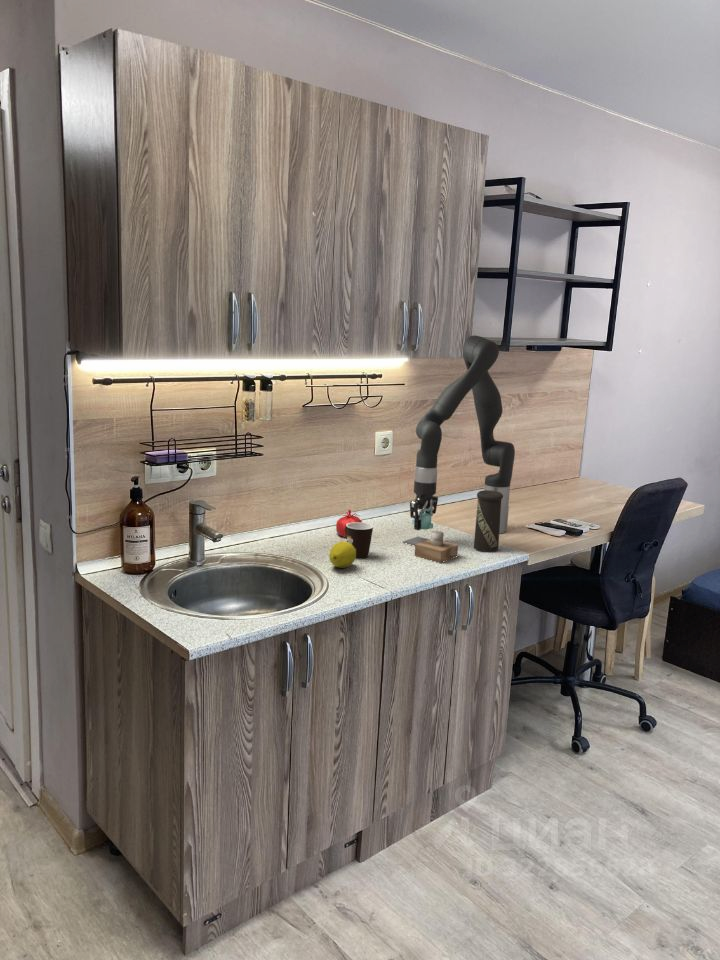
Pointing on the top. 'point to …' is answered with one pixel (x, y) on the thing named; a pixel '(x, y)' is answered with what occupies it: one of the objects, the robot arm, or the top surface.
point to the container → (488, 521)
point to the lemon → (342, 554)
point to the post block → (436, 548)
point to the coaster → (415, 540)
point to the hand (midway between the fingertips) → (422, 528)
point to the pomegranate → (344, 521)
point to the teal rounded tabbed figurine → (425, 521)
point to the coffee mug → (359, 537)
